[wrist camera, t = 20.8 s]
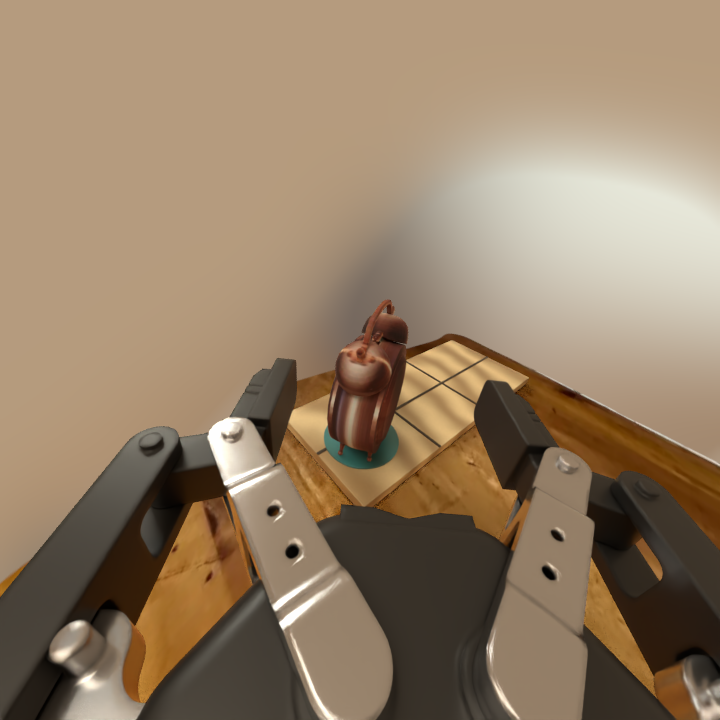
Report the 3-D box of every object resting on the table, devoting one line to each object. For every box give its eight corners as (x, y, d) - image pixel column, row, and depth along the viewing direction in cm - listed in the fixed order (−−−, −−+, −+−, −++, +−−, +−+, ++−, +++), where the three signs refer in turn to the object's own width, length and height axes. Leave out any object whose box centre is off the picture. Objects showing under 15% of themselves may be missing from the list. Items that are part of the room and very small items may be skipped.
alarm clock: (360, 401, 37) (374, 281, 29) (398, 413, 36) (424, 291, 28) (320, 469, 28) (325, 323, 20) (369, 487, 27) (395, 340, 19)
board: (362, 515, 26) (364, 505, 25) (282, 422, 34) (281, 413, 34) (526, 383, 46) (529, 376, 46) (450, 345, 55) (452, 339, 54)
